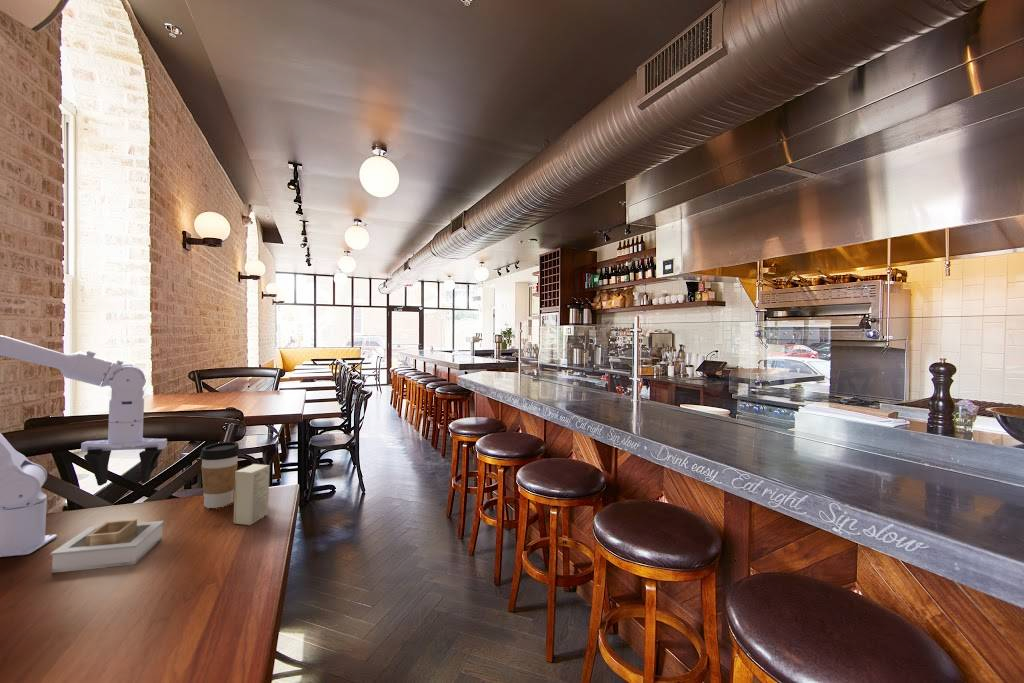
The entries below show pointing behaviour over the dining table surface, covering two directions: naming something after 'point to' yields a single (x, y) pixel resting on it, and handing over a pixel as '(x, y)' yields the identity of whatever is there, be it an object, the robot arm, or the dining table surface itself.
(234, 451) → the coffee cup
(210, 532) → the dining table surface
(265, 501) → the skincare box
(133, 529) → the birch crate
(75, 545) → the white square tray
